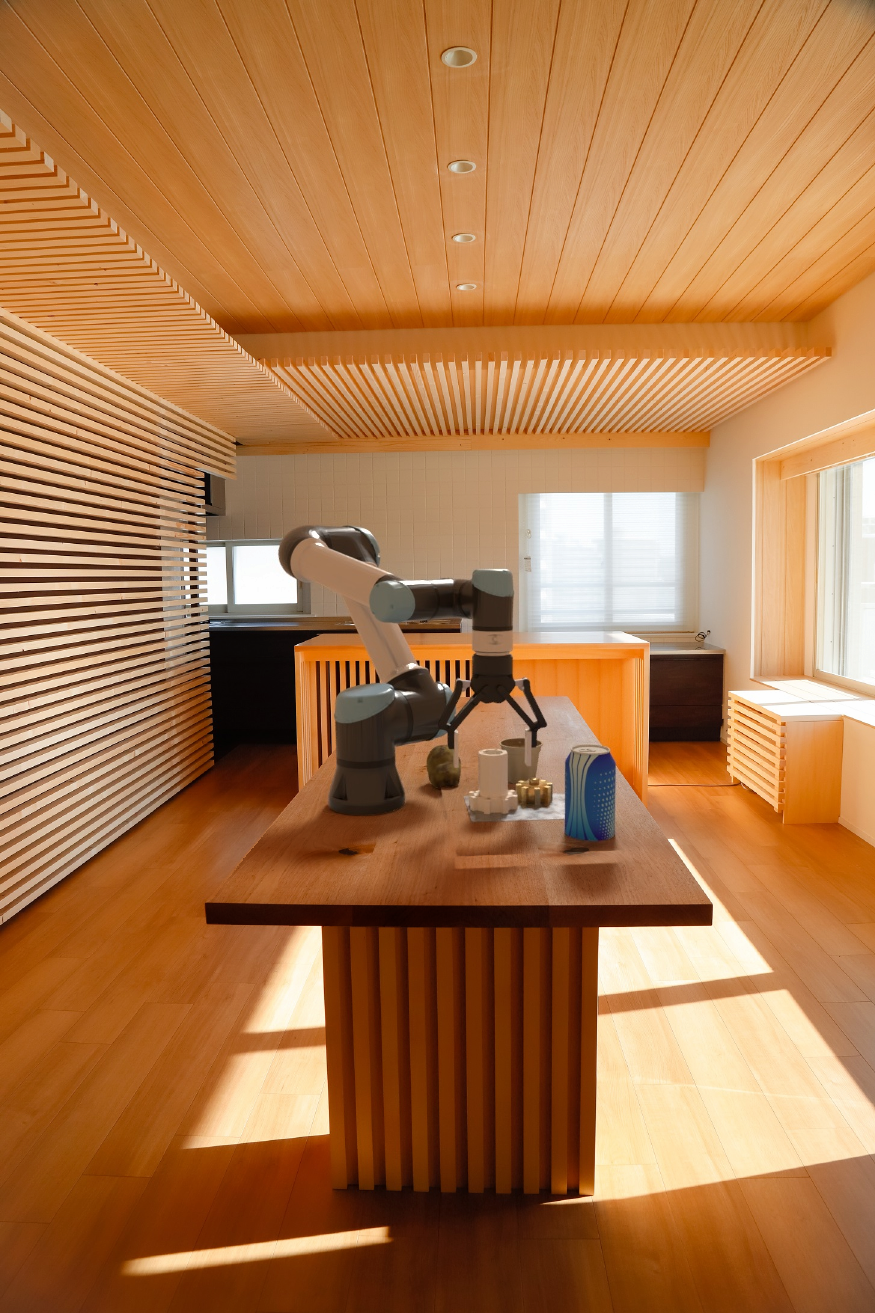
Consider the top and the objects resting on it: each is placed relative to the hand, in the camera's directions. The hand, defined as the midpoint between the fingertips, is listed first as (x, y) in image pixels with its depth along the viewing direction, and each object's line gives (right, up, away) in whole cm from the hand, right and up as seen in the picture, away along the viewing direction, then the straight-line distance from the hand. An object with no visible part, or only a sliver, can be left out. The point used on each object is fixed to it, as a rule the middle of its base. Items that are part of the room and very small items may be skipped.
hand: (492, 765), depth 151 cm
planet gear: (0, -8, +1) cm, 8 cm away
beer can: (+16, -11, -14) cm, 24 cm away
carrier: (+6, -9, +1) cm, 11 cm away
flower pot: (+8, -7, +23) cm, 26 cm away
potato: (-9, -7, +21) cm, 24 cm away
